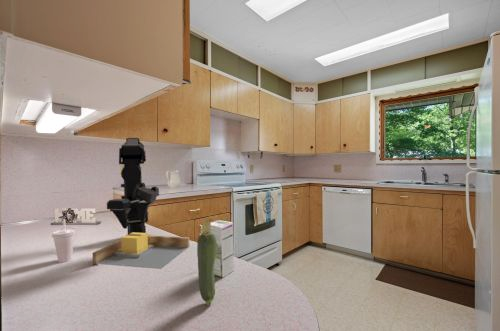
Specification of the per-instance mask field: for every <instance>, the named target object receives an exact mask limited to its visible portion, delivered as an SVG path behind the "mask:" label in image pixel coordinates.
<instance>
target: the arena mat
mask: <svg viewBox="0 0 500 331" xmlns="http://www.w3.org/2000/svg"><path fill="white" fill-rule="evenodd" d="M187 249H188V248H186V247H169V246H154V249H152V250H151V251H149V252H147V253H146V254H144V255H142V256H141V257H139V258H132V257H118V256H114V255H112V256H110V257H108V258H106V259H104V260H102V261H100V262H98V263H96V265H95V264H93V263H92V265H93V266H96V267H97V266H99V265H107V266H108V265H109V266H120V267H121V266H122V267H133V268H134V267H135V268H145V269H146V268H147V269H157V270H158V269H159V270H161V269H163V268H164V267H165V266H167V265H168V264H169V263H170V262H172V261H173V260H174V259H176V258H177V257H178V256H179V255H181V254H182V253H183V252H185V251H186V250H187Z"/></svg>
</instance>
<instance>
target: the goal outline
mask: <svg viewBox="0 0 500 331" xmlns="http://www.w3.org/2000/svg"><path fill="white" fill-rule="evenodd" d="M152 249H154V245H148V248H147V249H145V250H143V251H141V252H140V253H138V254H137V253H122V249H121V250H119V251H117V252H115V253H114V256H118V257H132V258H139V257H141V256H142V255H144V254H146V253H147V252H149V251H151V250H152Z"/></svg>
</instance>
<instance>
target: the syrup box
mask: <svg viewBox="0 0 500 331" xmlns="http://www.w3.org/2000/svg"><path fill="white" fill-rule="evenodd" d="M210 223H211V229H210V230H211V231H209V232H212V233H213V234H214V236H215V238H216V242H217V248H216V257H215V262H214V276H216V277H220V278H225V277H227V276H228V275H230V274H231V273H233V272H234V271H235V257H234V256H235V255H234V251H235V250H234V249H235V248H234V223H233V221H227V220H226V221H225V220H219V219H218V220H214V221H213V222H211V221H210Z"/></svg>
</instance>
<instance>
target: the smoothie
mask: <svg viewBox="0 0 500 331" xmlns="http://www.w3.org/2000/svg"><path fill="white" fill-rule="evenodd" d="M62 221H63V222H62V225H63V226H62V228H63V229H59V230H55V231H53V232H52V233H51V237H52V238H53V242H54V247H55V251H56V258H57V262H58V263H66V261H67V262H69V260H70V261H72V259H73V253H74V252H73V251H74V250H73V249H74V241H75V234H76V229H74V228H69V229H68V228H66V218H63V219H62Z"/></svg>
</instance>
